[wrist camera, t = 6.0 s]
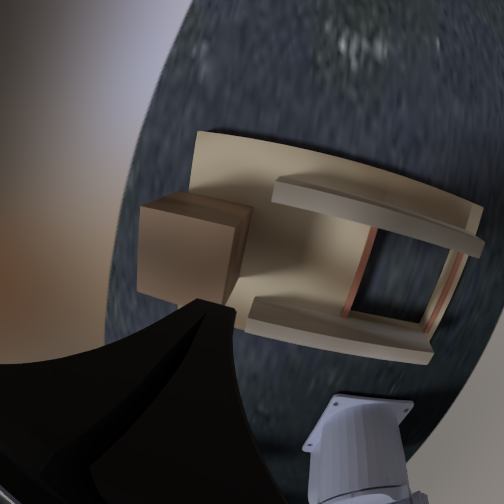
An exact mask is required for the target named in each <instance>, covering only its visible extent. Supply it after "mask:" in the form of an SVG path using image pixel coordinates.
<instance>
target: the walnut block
mask: <svg viewBox="0 0 504 504" xmlns="http://www.w3.org/2000/svg"><path fill="white" fill-rule="evenodd" d="M252 210H253V206H248V205H244V204H239V203H235V202H230V201H226V200H221V199H216V198H212V197H207V196H202V195H197V194H192V193H187V192H182V191H178V192H175V193H172V194H170V195H167V196H165V197H162V198H160V199H157V200H155V201H152V202H150V203H147V204H145V205H142V206H141V208H140V221H139V238H138V263H137V291H138V292H141V293H144V294H147V295H150V296H153V297H156V298H159V299H162V300H165V301H168V302H171V303H175V304H178V305H181V306H184V305H186V304H188V303H189V302H191V301H193V300H195V299H196V298H199V299H203V300H206V301H210V302H214V303H217V304H221V305H226V303H227V301H228V299H229V297H230V295H231V293H232V291H233V289H234V287H235V285H236V283H237V281H238V279H239V276H240V270H241V265H242V260H243V255H244V250H245V245H246V240H247V235H248V230H249V225H250V220H251V215H252Z"/></svg>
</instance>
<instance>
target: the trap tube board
mask: <svg viewBox="0 0 504 504" xmlns="http://www.w3.org/2000/svg"><path fill="white" fill-rule="evenodd" d="M189 193H192V194H197V195H202V196H207V197H212V198H216V199H221V200H226V201H230V202H235V203H239V204H244V205H248V206H253V210H252V215H251V220H250V225H249V230H248V235H247V240H246V245H245V250H244V255H243V260H242V265H241V270H240V276H239V279H238V281H237V283H236V285H235V287H234V289H233V291H232V293H231V295H230V297H229V299H228V301H227V303H226V305H225V306H229V307H232V308H235V310H236V311H237V314H236V319H235V324H234V328H238V329H242V330H245V331H244V332H247V333H251V334H255V335H259V336H263V337H268V338H272V339H276V340H281V341H285V342H290V343H295V344H299V345H304V346H309V347H314V348H319V349H324V350H330V351H335V352H340V353H346V354H352V355H358V356H364V357H370V358H377V359H384V360H391V361H398V362H406V363H414V364H423V365H427V364H428V363H429V361H430V360H431V358H432V356H433V355H434V351H433V349H432V347H431V345H430V343H429V341H430V339H431V337H432V336H433V334H434V332H435V330H436V328H437V326H438V324H439V322H440V320H441V318H442V316H443V314H444V312H445V310H446V308H447V306H448V304H449V301H450V299H451V297H452V295H453V293H454V290H455V288H456V286H457V283H458V281H459V279H460V276H461V274H462V271H463V269H464V266H465V263H466V261H467V258H468V255H470V256H473V257H476V258H480V256H481V253H482V250H483V247H484V244H485V242H484V241H483V240H481V239H480V238H478V237H477V236H475V235H476V232H477V229H478V226H479V222H480V219H481V216H482V212H483V208H484V207H481V206H479V205H477V204H474V203H472V202H470V201H467V200H465V199H463V198H460V197H458V196H455V195H453V194H450V193H448V192H445V191H443V190H440V189H437V188H435V187H432V186H429V185H427V184H424V183H421V182H418V181H415V180H413V179H410V178H407V177H404V176H401V175H398V174H395V173H391V172H388V171H385V170H382V169H379V168H375V167H372V166H368V165H365V164H362V163H358V162H354V161H351V160H347V159H343V158H340V157H336V156H332V155H328V154H324V153H320V152H315V151H311V150H307V149H302V148H298V147H293V146H288V145H283V144H278V143H273V142H268V141H262V140H257V139H251V138H245V137H239V136H232V135H226V134H219V133H211V132H203V131H198V132H197V138H196V144H195V151H194V157H193V164H192V171H191V178H190V185H189ZM378 228H380V229H384V230H387V231H391V232H395V233H398V234H402V235H405V236H409V237H412V238H415V239H419V240H422V241H425V242H429V243H432V244H435V245H438V246H442V247H445V248H448V249H450V252H449V254H448V257H447V260H446V263H445V265H444V268H443V270H442V273H441V275H440V278H439V280H438V283H437V285H436V288H435V290H434V292H433V295H432V297H431V299H430V301H429V303H428V306H427V308H426V310H425V312H424V314H423V316H422V318H421V320H420V322H419V323H413V322H408V321H403V320H397V319H392V318H387V317H382V316H377V315H372V314H367V313H362V312H357V311H352V310H350V309H351V306H352V304H353V301H354V298H355V296H356V293H357V290H358V287H359V285H360V282H361V279H362V276H363V273H364V270H365V267H366V264H367V261H368V258H369V255H370V252H371V249H372V246H373V243H374V240H375V236H376V233H377V230H378ZM181 307H183V306H181V305H178V309H179V308H181Z"/></svg>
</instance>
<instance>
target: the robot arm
mask: <svg viewBox="0 0 504 504" xmlns="http://www.w3.org/2000/svg"><path fill="white" fill-rule="evenodd" d="M236 314H237V311H236V310H235V308H232V307H229V306H225V305H221V304H217V303H214V302H210V301H206V300H203V299H199V298H196V299H195V300H193V301H191V302H189V303H188V304H186V305H184V306H183V307H181V308H179V309H178V310H176V311H174V312H173V313H171V314H169V315H168V316H166V317H164V318H162V319H161V320H159V321H157V322H155V323H154V324H152V325H150V326H148V327H146V328H144V329H142V330H140V331H138V332H136V333H134V334H132V335H130V336H128V337H125V338H123V339H121V340H118V341H116V342H113V343H111V344H108V345H105V346H102V347H100V348H97V349H93V350H90V351H87V352H83V353H79V354H75V355H71V356H67V357H63V358H58V359H53V360H47V361H41V362H32V363H23V364H0V490H1V491H2V492H3V493H4V494H5V495H6V496H7V497H8V498H9V499H11V500H12V501H13V502H14V503H15V504H288V502H287V500H286V498H285V497H284V495H283V493H282V492H281V490H280V489H279V487H278V485H277V483H276V482H275V480H274V478H273V476H272V474H271V473H270V471H269V469H268V467H267V465H266V463H265V461H264V459H263V457H262V454H261V452H260V450H259V448H258V445H257V443H256V440H255V438H254V435H253V433H252V430H251V428H250V425H249V422H248V420H247V417H246V414H245V410H244V407H243V404H242V400H241V396H240V392H239V388H238V383H237V378H236V372H235V365H234V357H233V341H232V335H233V330H234V324H235V319H236ZM335 402H337V403H335ZM413 406H414V403H413V401H406V400H392V399H380V398H370V397H361V396H353V395H345V394H335V395H334V396H333V397H332V399H331V401H330V402H329V404H328V406H327V408H326V409H325V411H324V413H323V414H322V416H321V418H320V419H319V421H318V423H317V424H316V426H315V428H314V429H313V431H312V432H311V434H310V436H309V437H308V439H307V440H306V442H305V443H304V445H303V447H302V450H303V451H305V452H311V461H310V475H309V488H308V500H309V503H310V504H429V503H428V497H427V495H426V494H424V493H421V492H420V491H417V492H415V493H413V494H411V490H410V488H409V482H408V475H407V469H406V462H405V457H404V451H403V446H402V441H401V436H400V431H399V426H398V425H399V424H400V423H401V422H402V420H403V419H404V418H405V417H406V415H407V414H408V413H409V412H410V410H411V409H412V408H413ZM0 504H11V503H10V502H9V501H8V500H6V499H5V498H4V497H2V496H1V495H0Z"/></svg>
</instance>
